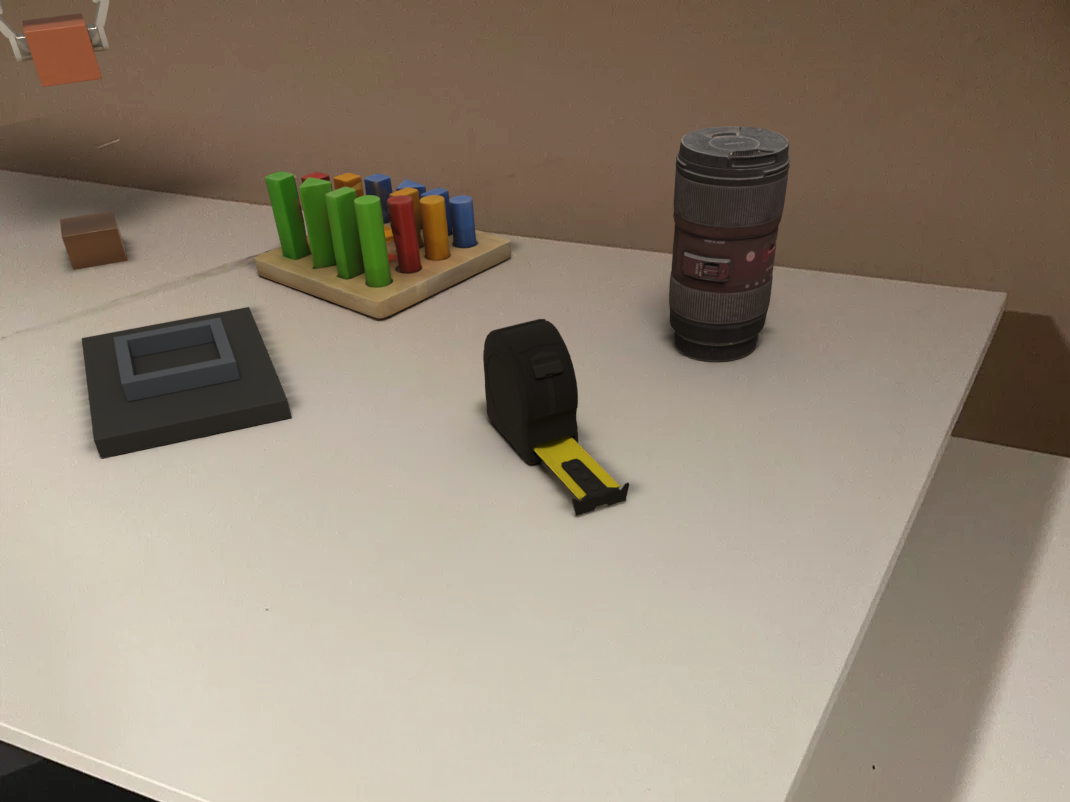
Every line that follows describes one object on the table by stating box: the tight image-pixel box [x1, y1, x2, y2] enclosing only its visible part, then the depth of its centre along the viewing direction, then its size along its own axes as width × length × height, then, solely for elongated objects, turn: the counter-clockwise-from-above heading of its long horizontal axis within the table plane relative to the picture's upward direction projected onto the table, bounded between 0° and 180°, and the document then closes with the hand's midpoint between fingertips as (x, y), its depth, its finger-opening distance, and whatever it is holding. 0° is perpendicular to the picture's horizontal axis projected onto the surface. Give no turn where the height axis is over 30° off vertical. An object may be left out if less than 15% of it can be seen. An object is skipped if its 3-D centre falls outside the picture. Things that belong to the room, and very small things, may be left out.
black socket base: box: [81, 306, 292, 459], centre depth 80 cm, size 18×14×3 cm
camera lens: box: [668, 125, 791, 363], centre depth 77 cm, size 8×8×15 cm
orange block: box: [21, 12, 103, 88], centre depth 88 cm, size 5×5×4 cm
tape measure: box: [482, 318, 630, 517], centre depth 68 cm, size 15×4×8 cm, turn 25°
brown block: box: [59, 210, 128, 271], centre depth 97 cm, size 5×5×4 cm
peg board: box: [254, 170, 512, 319], centre depth 93 cm, size 18×17×9 cm
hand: (63, 54), depth 88 cm, fingers closed on orange block, 5 cm apart
